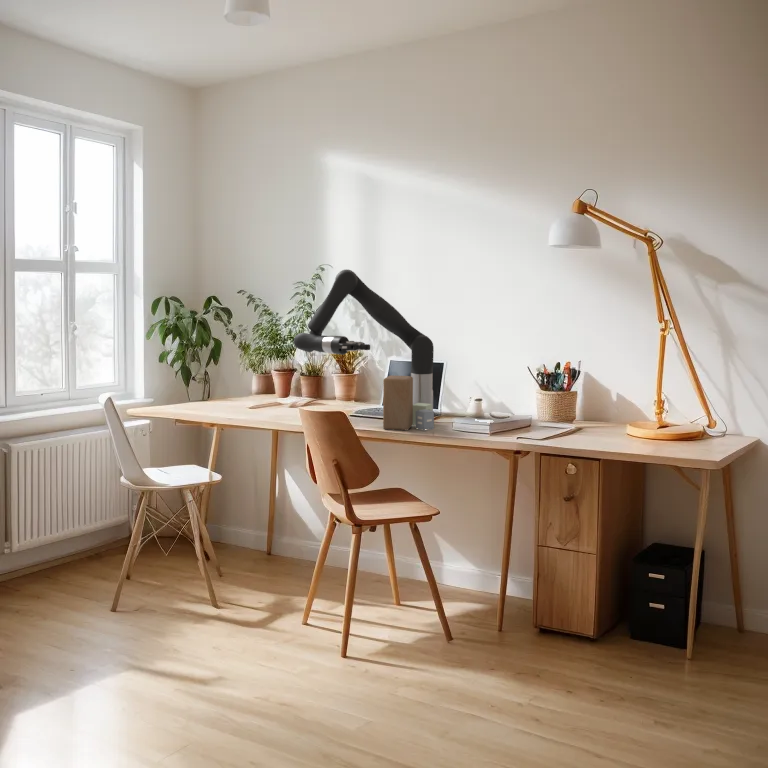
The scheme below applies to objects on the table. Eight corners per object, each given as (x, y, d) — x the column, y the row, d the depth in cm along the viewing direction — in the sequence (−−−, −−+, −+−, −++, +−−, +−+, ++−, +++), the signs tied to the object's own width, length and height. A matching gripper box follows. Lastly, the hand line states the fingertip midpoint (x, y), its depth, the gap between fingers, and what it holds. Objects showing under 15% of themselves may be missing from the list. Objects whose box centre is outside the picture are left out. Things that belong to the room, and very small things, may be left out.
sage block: (417, 422, 343) (418, 402, 342) (431, 423, 340) (432, 404, 339) (411, 424, 337) (411, 405, 336) (425, 426, 335) (426, 406, 334)
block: (408, 430, 325) (408, 379, 322) (382, 429, 327) (382, 378, 325) (413, 426, 335) (413, 375, 332) (388, 425, 337) (388, 375, 334)
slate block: (425, 427, 333) (425, 409, 332) (434, 428, 329) (434, 411, 328) (415, 428, 330) (415, 410, 329) (424, 430, 326) (424, 412, 325)
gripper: (325, 336, 345) (359, 339, 335) (345, 334, 356) (378, 336, 346) (325, 355, 346) (359, 358, 336) (345, 352, 357) (378, 355, 347)
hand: (369, 347), depth 341 cm, fingers closed
